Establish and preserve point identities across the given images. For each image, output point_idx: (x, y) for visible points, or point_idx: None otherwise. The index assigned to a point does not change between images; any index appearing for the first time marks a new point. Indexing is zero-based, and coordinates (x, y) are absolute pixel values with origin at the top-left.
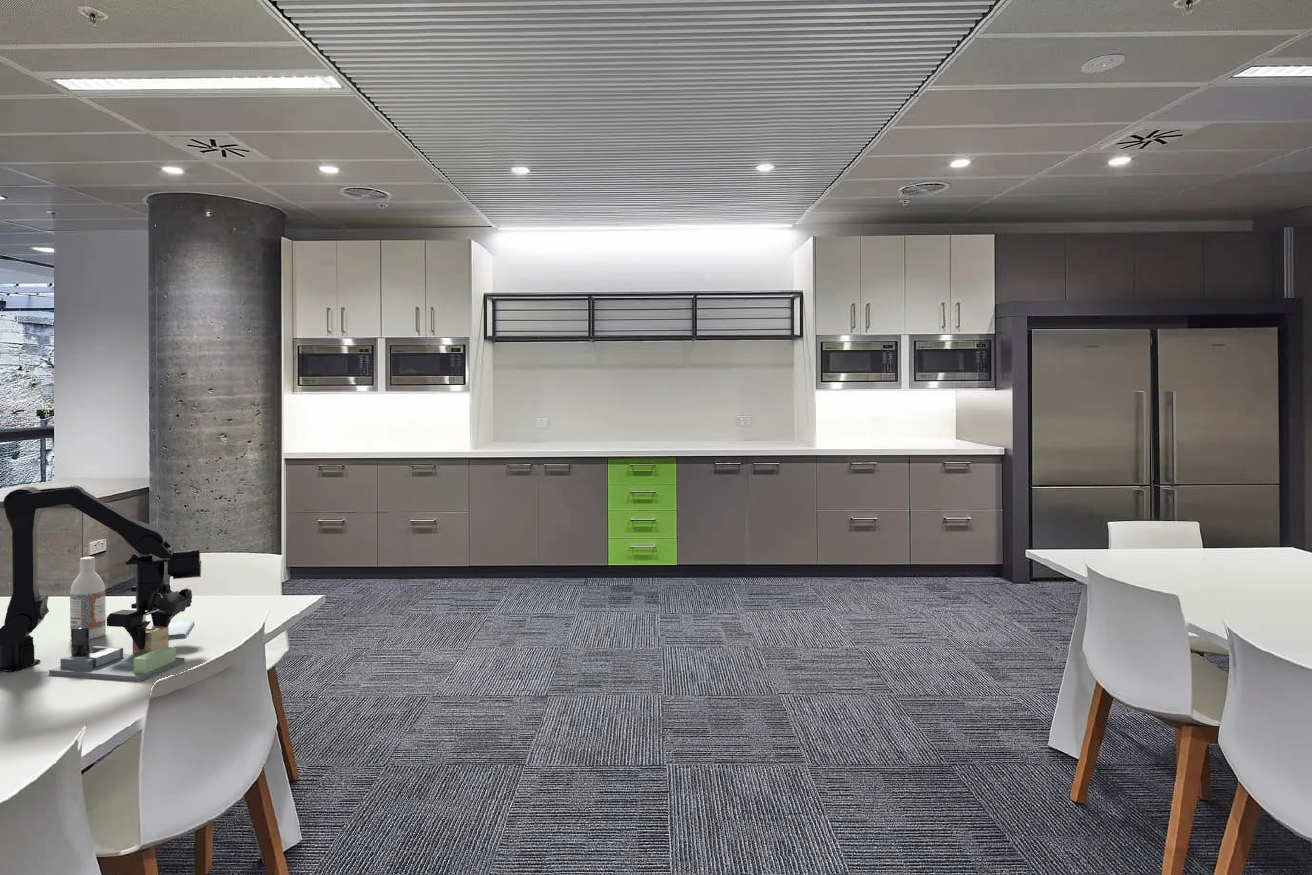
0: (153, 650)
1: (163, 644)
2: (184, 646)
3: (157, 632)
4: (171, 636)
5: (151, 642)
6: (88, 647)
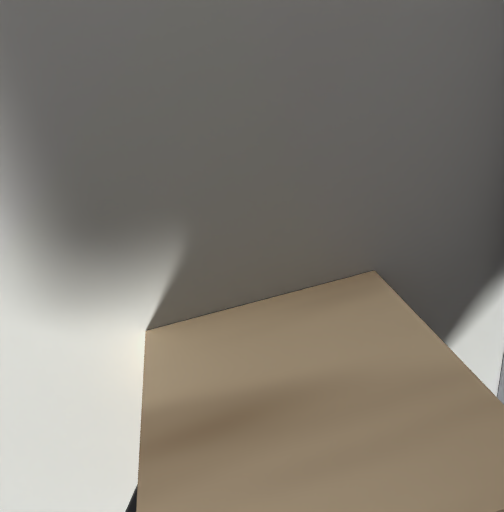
0: (365, 292)
1: (226, 346)
2: (20, 195)
3: (419, 493)
4: None
5: (454, 353)
6: None
